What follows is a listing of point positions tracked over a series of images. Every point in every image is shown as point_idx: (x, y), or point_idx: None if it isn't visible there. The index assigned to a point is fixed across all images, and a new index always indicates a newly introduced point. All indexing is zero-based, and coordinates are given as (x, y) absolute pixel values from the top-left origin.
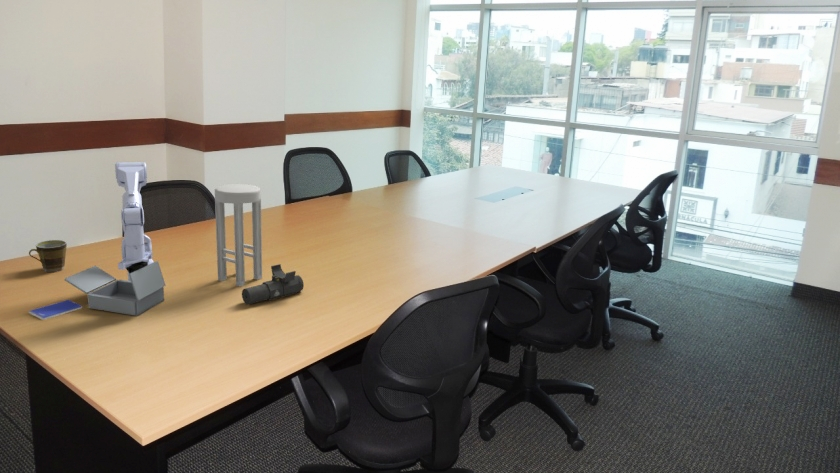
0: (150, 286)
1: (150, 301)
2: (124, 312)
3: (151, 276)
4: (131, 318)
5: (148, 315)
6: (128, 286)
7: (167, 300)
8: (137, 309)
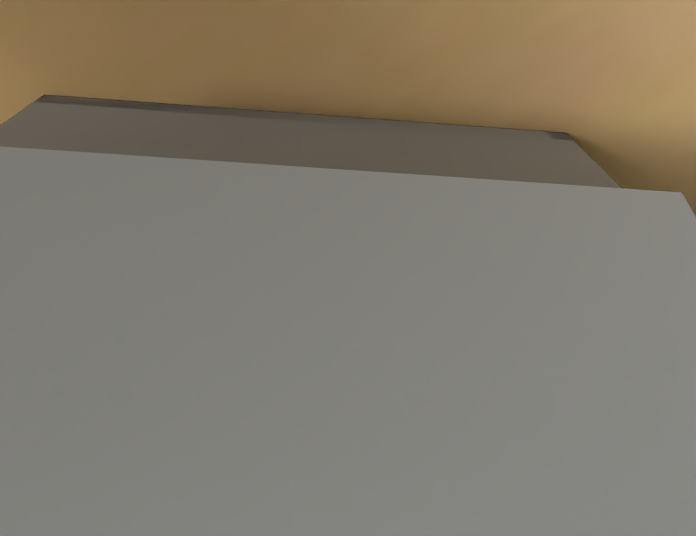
0: (301, 256)
1: (317, 148)
2: None
3: (135, 422)
4: (636, 156)
5: (536, 18)
6: None
7: (14, 59)
8: (587, 163)
